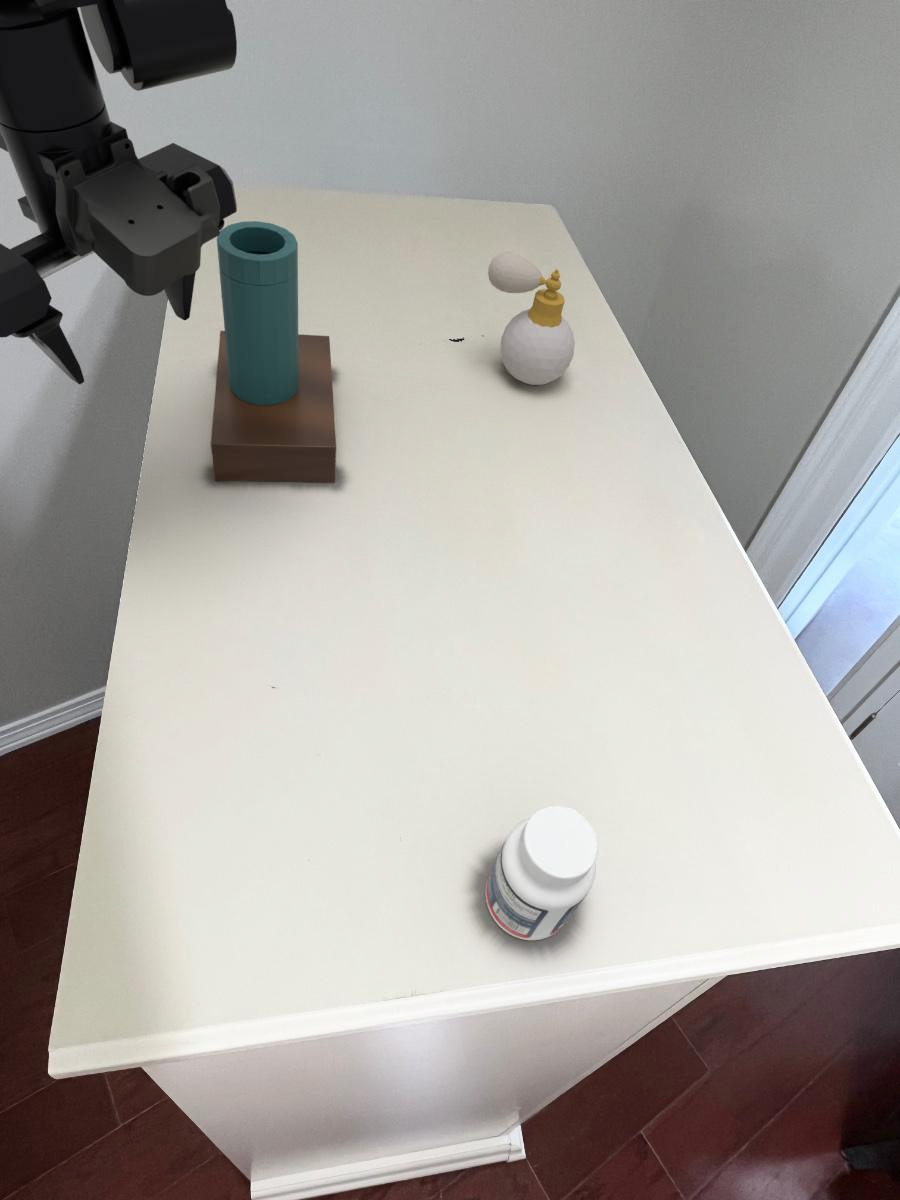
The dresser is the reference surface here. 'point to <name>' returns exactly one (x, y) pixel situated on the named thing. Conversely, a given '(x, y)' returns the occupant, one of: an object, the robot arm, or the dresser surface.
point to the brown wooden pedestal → (277, 425)
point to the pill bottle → (542, 873)
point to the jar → (260, 310)
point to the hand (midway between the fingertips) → (132, 347)
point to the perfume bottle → (533, 322)
